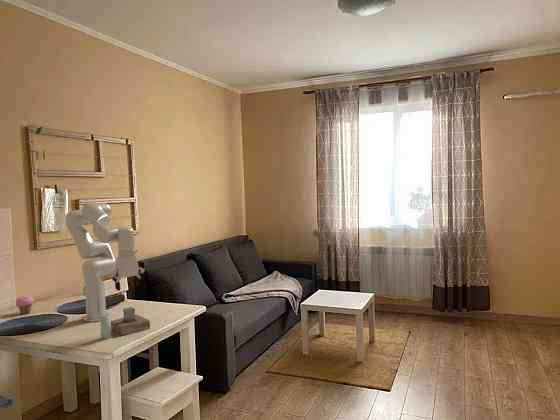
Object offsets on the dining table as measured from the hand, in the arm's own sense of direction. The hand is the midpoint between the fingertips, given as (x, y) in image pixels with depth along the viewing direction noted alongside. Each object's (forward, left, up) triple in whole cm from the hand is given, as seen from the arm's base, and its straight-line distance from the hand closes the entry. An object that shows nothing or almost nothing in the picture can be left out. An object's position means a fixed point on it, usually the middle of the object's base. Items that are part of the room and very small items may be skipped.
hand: (128, 288), depth 204 cm
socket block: (0, 0, -20) cm, 20 cm away
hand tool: (-49, +10, -20) cm, 54 cm away
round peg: (+4, -13, -20) cm, 24 cm away
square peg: (0, 0, -20) cm, 20 cm away
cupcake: (-71, -29, -20) cm, 79 cm away
